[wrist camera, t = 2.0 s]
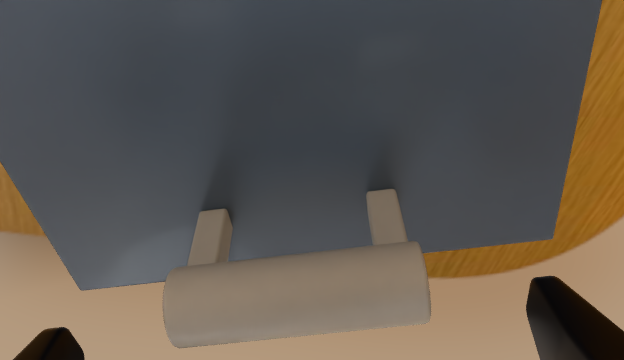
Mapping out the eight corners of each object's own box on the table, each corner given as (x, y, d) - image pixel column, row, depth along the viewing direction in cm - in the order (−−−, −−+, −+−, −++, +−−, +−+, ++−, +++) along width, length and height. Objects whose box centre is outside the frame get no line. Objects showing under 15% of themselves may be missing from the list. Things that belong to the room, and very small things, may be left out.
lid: (544, 224, 14) (620, 357, 10) (87, 274, 14) (26, 412, 11) (689, -541, 6) (1113, -901, 3) (-280, -344, 7) (-766, -455, 4)
